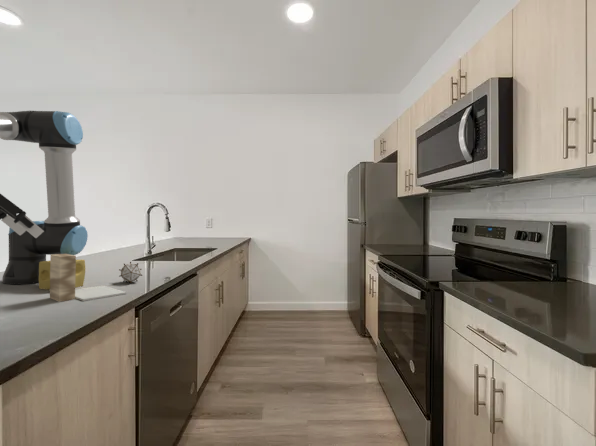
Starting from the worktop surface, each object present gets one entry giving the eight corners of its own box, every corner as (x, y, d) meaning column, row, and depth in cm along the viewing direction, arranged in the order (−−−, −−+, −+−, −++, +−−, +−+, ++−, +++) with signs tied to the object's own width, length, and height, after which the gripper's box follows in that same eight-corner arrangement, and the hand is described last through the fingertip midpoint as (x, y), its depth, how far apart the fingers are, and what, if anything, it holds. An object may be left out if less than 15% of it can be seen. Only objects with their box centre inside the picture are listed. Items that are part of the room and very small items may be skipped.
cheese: (62, 291, 124) (62, 263, 124) (36, 289, 127) (36, 261, 126) (85, 285, 135) (86, 259, 134) (61, 283, 137) (61, 257, 137)
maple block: (59, 301, 111) (60, 256, 111) (49, 298, 115) (50, 254, 115) (75, 299, 115) (75, 255, 114) (65, 295, 119) (66, 253, 118)
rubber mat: (83, 301, 113) (83, 299, 113) (61, 293, 122) (61, 291, 122) (126, 293, 124) (126, 292, 124) (103, 287, 133) (103, 285, 133)
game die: (135, 291, 144) (151, 272, 144) (116, 286, 138) (132, 266, 137) (128, 277, 150) (143, 259, 149) (110, 272, 143) (125, 253, 142)
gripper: (-64, 185, 98) (6, 239, 111) (-39, 184, 85) (37, 245, 98) (-37, 168, 102) (26, 222, 115) (-10, 164, 89) (59, 226, 102)
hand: (31, 233), depth 107 cm, fingers open, 11 cm apart
